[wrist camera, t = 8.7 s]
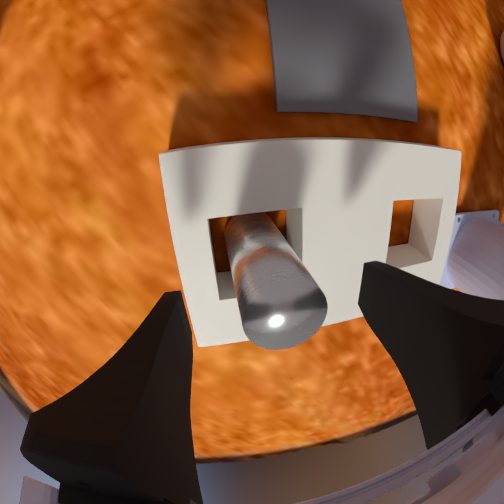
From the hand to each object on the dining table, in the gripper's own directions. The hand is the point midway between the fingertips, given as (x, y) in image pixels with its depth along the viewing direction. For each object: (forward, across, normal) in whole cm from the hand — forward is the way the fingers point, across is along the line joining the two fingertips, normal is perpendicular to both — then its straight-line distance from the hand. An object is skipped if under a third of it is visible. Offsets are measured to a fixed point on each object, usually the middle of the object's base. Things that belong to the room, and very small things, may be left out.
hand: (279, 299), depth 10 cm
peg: (+7, 0, 0) cm, 7 cm away
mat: (+7, -7, -12) cm, 15 cm away
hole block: (+7, -5, 0) cm, 8 cm away
